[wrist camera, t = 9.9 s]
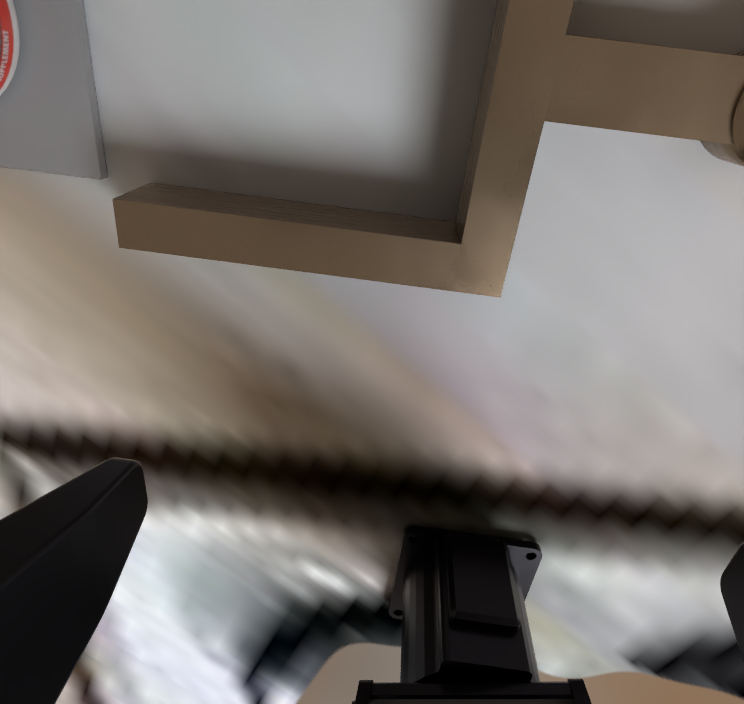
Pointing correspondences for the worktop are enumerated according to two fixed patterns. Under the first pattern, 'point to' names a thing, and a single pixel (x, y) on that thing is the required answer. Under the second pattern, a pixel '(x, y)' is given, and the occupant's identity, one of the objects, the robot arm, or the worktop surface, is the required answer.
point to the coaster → (52, 95)
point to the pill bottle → (8, 42)
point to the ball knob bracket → (484, 166)
